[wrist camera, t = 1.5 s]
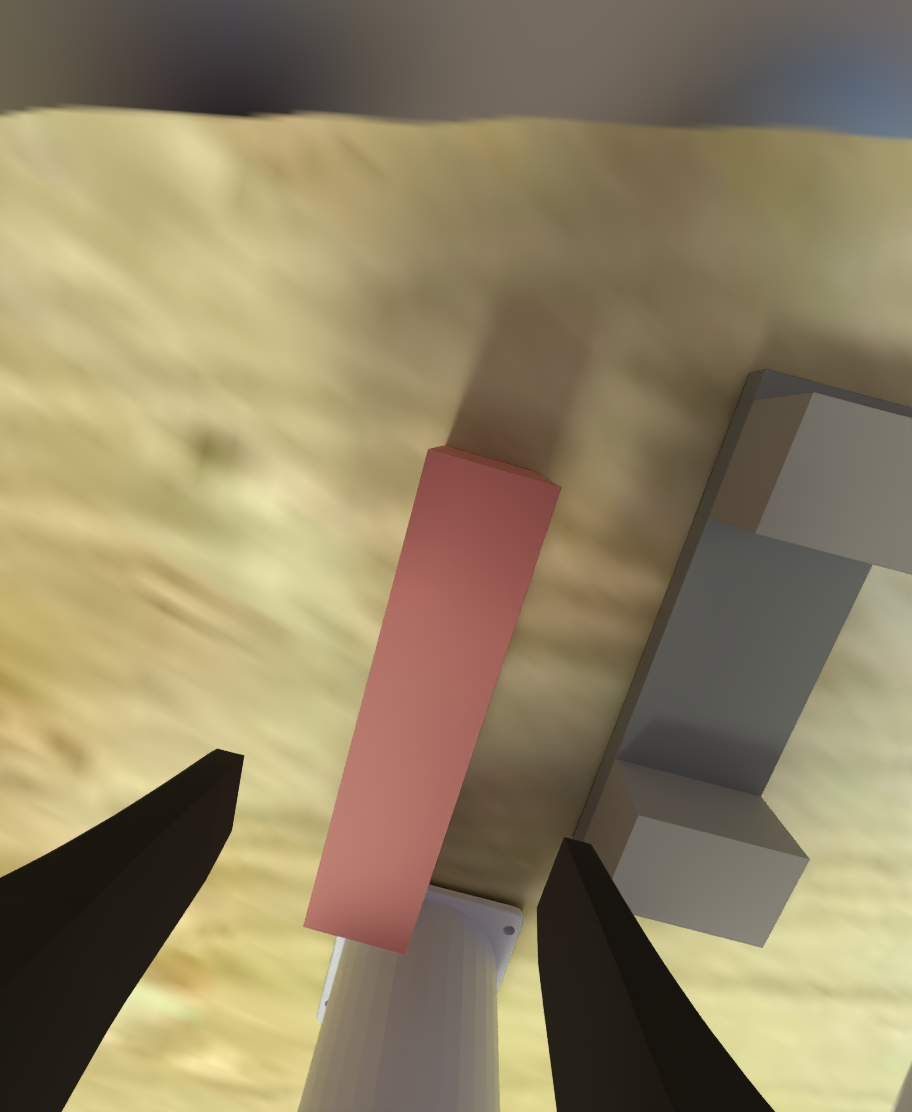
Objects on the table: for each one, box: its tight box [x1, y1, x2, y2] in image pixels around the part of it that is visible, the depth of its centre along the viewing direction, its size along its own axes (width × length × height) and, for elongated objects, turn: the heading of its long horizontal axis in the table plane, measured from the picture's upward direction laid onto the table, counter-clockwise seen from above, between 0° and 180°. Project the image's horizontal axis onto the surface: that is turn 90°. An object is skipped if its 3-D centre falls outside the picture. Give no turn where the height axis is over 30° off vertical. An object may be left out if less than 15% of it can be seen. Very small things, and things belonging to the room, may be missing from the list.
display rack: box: [573, 369, 912, 948], centre depth 17 cm, size 20×6×4 cm, turn 166°
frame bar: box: [303, 446, 561, 955], centre depth 17 cm, size 16×4×6 cm, turn 164°
